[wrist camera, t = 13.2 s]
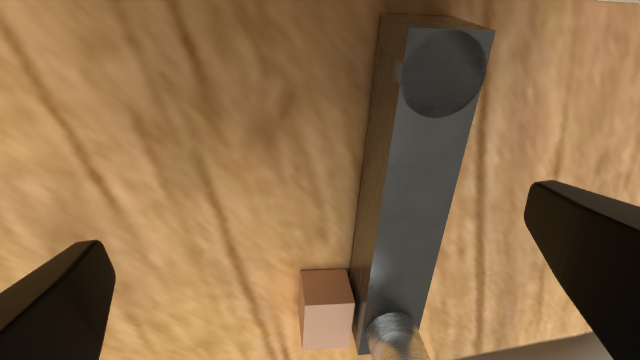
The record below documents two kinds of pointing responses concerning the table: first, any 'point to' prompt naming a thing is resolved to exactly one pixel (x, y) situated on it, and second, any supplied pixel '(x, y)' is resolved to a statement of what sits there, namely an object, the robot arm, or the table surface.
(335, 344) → the block
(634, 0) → the rail
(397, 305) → the stool leg
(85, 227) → the table surface
